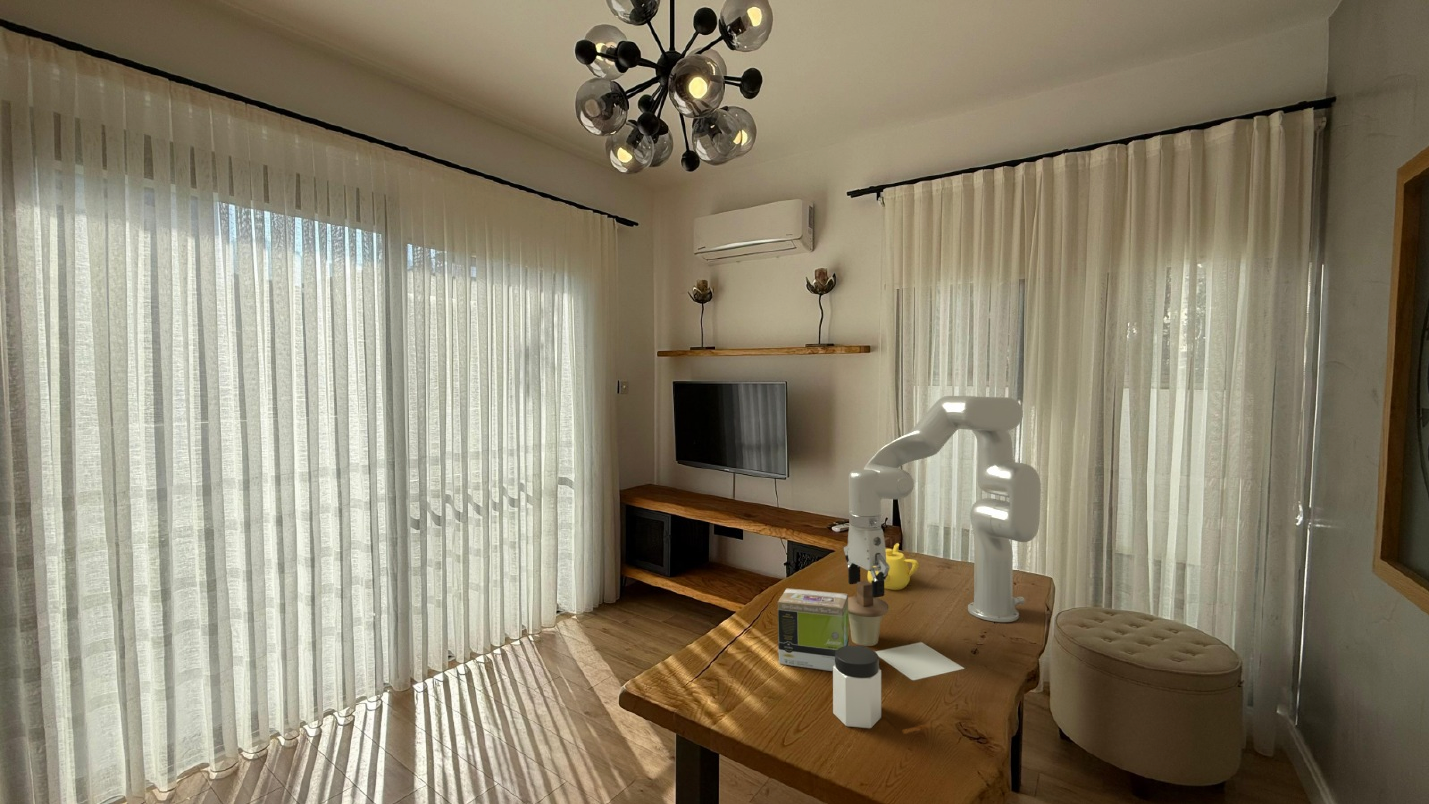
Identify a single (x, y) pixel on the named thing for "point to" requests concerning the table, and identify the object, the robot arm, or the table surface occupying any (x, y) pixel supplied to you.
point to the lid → (866, 602)
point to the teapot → (897, 569)
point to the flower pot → (864, 629)
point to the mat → (918, 661)
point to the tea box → (812, 627)
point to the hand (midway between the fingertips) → (865, 589)
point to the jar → (857, 686)
